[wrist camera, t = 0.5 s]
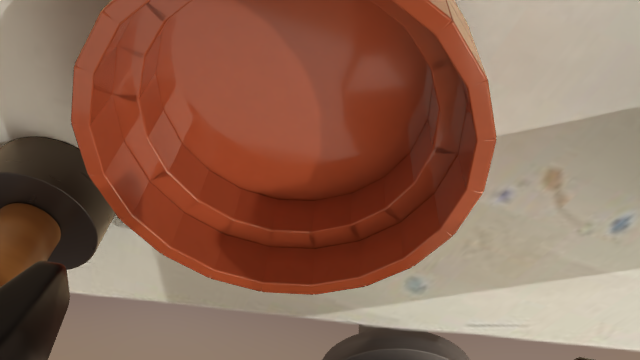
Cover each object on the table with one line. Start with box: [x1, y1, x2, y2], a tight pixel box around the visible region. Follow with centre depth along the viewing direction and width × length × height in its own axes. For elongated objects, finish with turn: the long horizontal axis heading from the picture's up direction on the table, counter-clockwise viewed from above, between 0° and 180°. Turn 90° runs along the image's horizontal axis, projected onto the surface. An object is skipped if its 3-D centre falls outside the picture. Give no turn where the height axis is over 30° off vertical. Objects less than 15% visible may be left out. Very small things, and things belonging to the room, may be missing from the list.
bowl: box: [71, 0, 496, 295], centre depth 20 cm, size 13×13×4 cm
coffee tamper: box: [0, 137, 115, 287], centre depth 21 cm, size 6×6×10 cm
